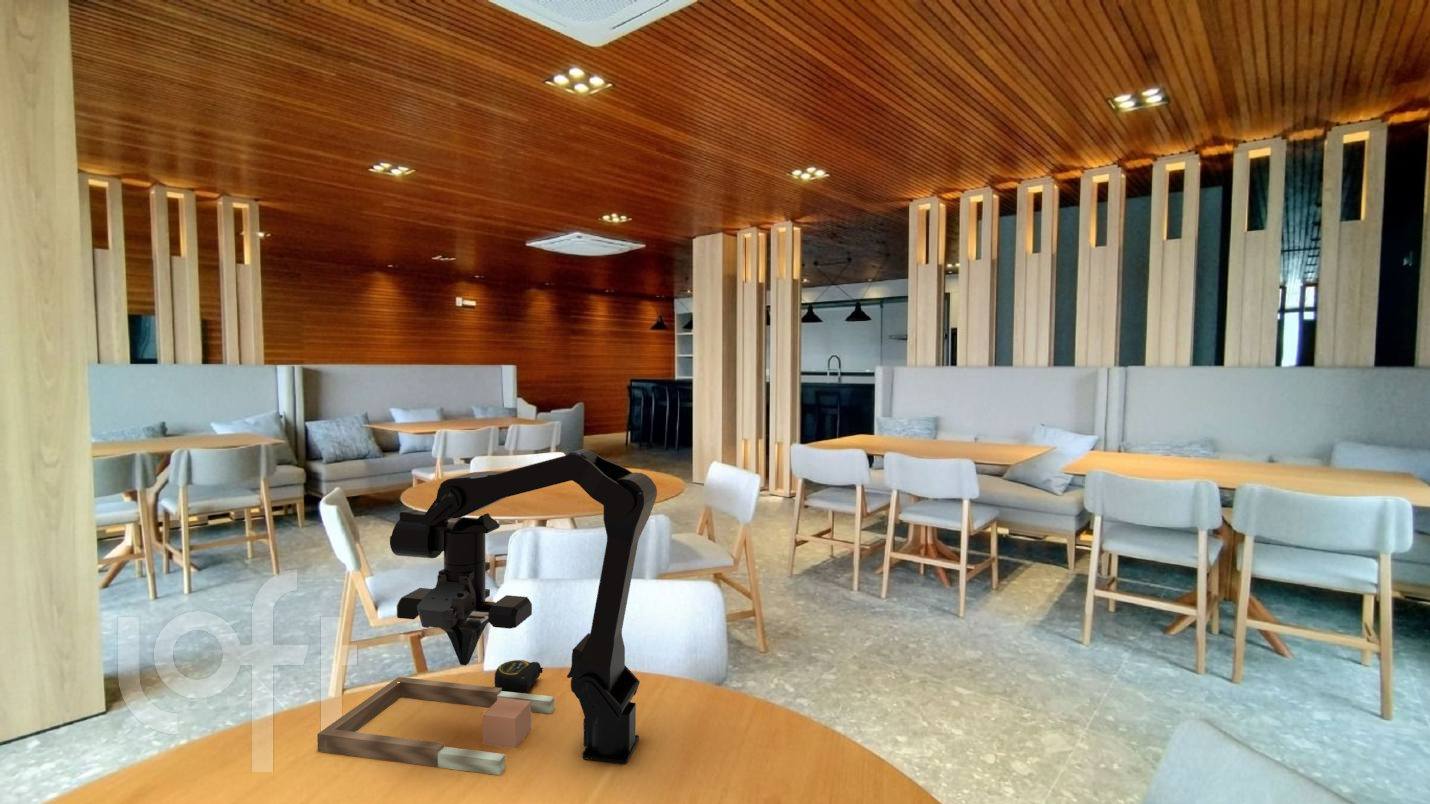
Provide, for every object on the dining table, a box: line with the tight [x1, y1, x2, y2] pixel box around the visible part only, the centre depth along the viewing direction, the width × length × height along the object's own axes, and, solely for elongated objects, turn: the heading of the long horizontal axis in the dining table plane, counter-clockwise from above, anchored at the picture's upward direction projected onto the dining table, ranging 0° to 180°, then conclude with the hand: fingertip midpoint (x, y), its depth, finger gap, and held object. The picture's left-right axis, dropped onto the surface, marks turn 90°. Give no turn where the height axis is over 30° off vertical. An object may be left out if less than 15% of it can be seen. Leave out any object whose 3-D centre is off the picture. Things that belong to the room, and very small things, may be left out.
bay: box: [316, 676, 555, 776], centre depth 99 cm, size 28×18×2 cm, turn 80°
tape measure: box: [493, 659, 544, 694], centre depth 112 cm, size 7×7×4 cm
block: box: [482, 698, 532, 750], centre depth 97 cm, size 5×5×4 cm
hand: (464, 664), depth 98 cm, fingers closed
